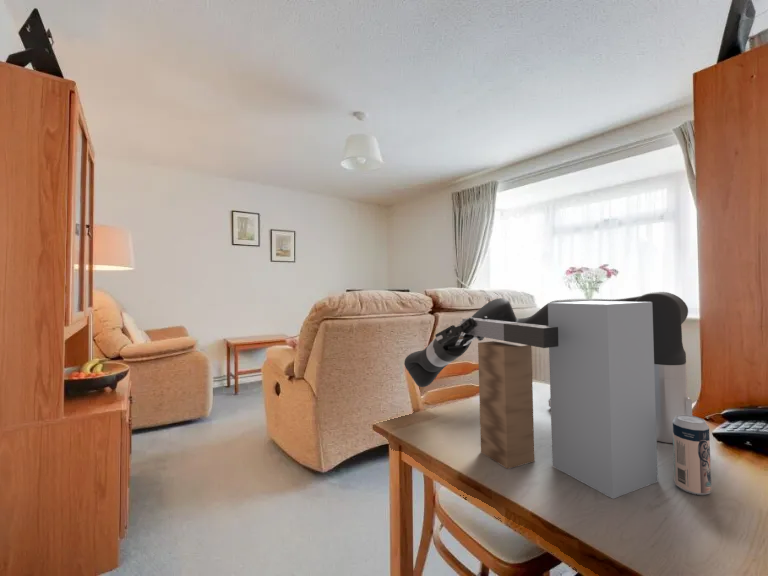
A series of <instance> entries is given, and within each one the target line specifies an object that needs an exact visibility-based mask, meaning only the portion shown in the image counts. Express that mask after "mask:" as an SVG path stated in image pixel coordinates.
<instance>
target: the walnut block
mask: <svg viewBox="0 0 768 576" xmlns="http://www.w3.org/2000/svg"><path fill="white" fill-rule="evenodd" d="M532 352H533V351H532V346H529V345H524V344H518V343H513V342H507V341H502V340H492V341H490V340H489V341H479V342H478V343H477V354H478V355H477V356H478V357H477V358H478V387H479V389H478V391H479V392H478V395H479V396H478V397H479V427H480V429H479V430H480V453H481V454H483V455H485V456H486V457H488V458H489V459H492V460H493V461H494V462H496V463H498V464H499V465H500V466H502V467H504V468H505V469H507V470H509V469H513V468H516V467H520V466H522V465H525V464H530V463H533V462H535V461H536V460H535V459H536V458H535V430H534V429H535V425H534V424H535V423H534V399H533V397H534V396H533V393H534V392H533V359H532V358H533V357H532V355H533V353H532Z"/></svg>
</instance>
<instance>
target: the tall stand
mask: <svg viewBox="0 0 768 576" xmlns="http://www.w3.org/2000/svg"><path fill="white" fill-rule="evenodd" d="M547 304H548V326H554V327H558V347H549V348H548V352H549V353H548V357H549V358H548V360H549V362H548V363H549V391H550V392H549V393H550V398H551V407H550V424H551V425H550V427H551V459H552V460H551V461H552V462H551V463H552V467H553V468H555V469H556V470H559V471H560V472H562V473H564V474H565V475H568V476H569V477H571V478H574V479H576V480H577V481H579V482H581V483H583V484H584V485H587V486H588V487H590V488H592V489H594V490H596V491H598V492H600V493H601V494H603V495H605V496H607V497H609V498H611V499H613V500H614V499H616V498H618V497H621V496H624V495H627V494H630V493H632V492H634V491H637V490H640V489H643V488H645V487H648V486H650V485H653V484H656V483H658V481H659V479H658V446H657V442H658V441H657V440H656V408H655V375H654V342H653V309H652V302H627V301H577V302H557V303H550V302H547ZM550 398H549V399H550Z"/></svg>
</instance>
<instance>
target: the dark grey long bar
mask: <svg viewBox="0 0 768 576" xmlns="http://www.w3.org/2000/svg"><path fill="white" fill-rule="evenodd" d="M468 318H469V317H468ZM468 318H465V317H464V318H462V319H461V320H460V321H459V324H463V323H464V322H465V321H466V320H467V319H468ZM473 319H474V322H475V327H473V328H472V329H471V330H469V331H468V332H465V333H466V334H469V335H474V336H480V337H484V339H485V338H486V339H492V340H495V341H500V340H502V341H507V342H513V343H518V344H524V345H529V346H531V347H536V348H542V349H549V347H558V327H554V326H545V325H535V324H526V323H517V322H508V321H499V320H489V319H480V318H473Z"/></svg>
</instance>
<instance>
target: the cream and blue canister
mask: <svg viewBox="0 0 768 576" xmlns="http://www.w3.org/2000/svg"><path fill="white" fill-rule="evenodd" d="M672 422H673V443H672V445H673V473H674V474H673V476H674V484H675V485H676V486H677V487H678V488H680V489H681V490H682V491H684V492H686V493H689V494H691V493H692V494H693V495H696V494H697V495H698V496H705V495H709V494H711V493H712V477H711V475H712V473H711V472H712V471H711V446H710V445H711V443H710V442H711V441H710V440H711V439H710V427H709V425H708V424H707V422H706V420H705V419H703V418H701V417H698V416H695V415H692V416H690V415H677V416H675V418H674V419H673V421H672ZM697 495H696V496H697Z"/></svg>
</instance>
